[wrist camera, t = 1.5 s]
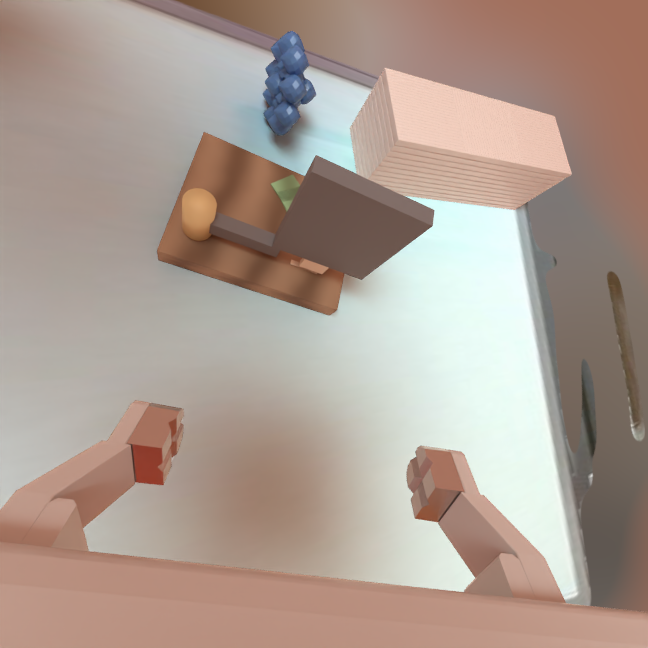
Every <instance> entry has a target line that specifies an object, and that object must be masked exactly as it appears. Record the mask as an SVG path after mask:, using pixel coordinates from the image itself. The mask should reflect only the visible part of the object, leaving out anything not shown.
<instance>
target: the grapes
mask: <svg viewBox="0 0 648 648" xmlns="http://www.w3.org/2000/svg"><path fill="white" fill-rule="evenodd" d="M271 50H272V53H273V55H274V57H275V59H276V60H274V61H273V62H271V63H270V64H269V65H268V66H267V67H266V72H267V74H268V76H269V77H268V78H267V80H266V81H265V84H266V86H267V89H266V90H265V91H264V93H263V96H264V98H265V100H266V101H267V103H268V105H269V106H270V107H269V108H268V109H267V110H266V111H265V112H264V113H263V114H264V116H265V118H266V119H267V121H268V123H269V125H270V127H271V128H272V130H273V131H274V133H276V134H277V135H284V134H286V133H287V132H288V131H289V130H290V129H291V128H292V127H293V124H295V123H296V121H297V120H298V119H299V118H300V114H299V112H298V109H297V108H298V106H299V105H300V104H307V103H309V102H310V101H311V100H312V99H313V98H314V97H315V96H316V92H315V90H314V87H313V85H312V83H311V81H309V80H308V79H305V78H304V75H303V72H304V71H305V70H306V68H307V67H308V66H309V63H308V60H307V57H306V55H305V53H304V51H305V50H304V47H303V44H302V41H301V39H300V37H299V35H298V34H296V33H295V32H293V31H290V32H287V33H286V34H285V35H284V36H282V37H281V38H280V39H279V40H278V41H277V42H276V43H275V44H274V45H273V46H272V47H271Z"/></svg>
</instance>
